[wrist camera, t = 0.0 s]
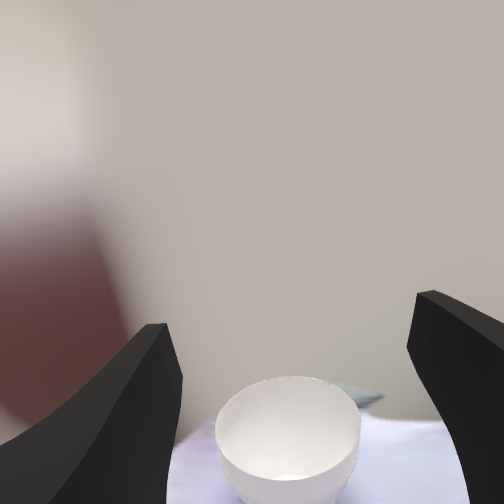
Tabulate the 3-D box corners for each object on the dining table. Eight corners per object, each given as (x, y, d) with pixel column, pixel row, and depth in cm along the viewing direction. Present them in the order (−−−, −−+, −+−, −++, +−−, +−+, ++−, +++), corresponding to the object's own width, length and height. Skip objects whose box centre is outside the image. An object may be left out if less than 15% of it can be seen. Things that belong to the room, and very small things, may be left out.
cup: (224, 483, 23) (197, 397, 20) (314, 452, 26) (317, 359, 22) (260, 560, 15) (240, 506, 12) (363, 516, 18) (394, 437, 14)
